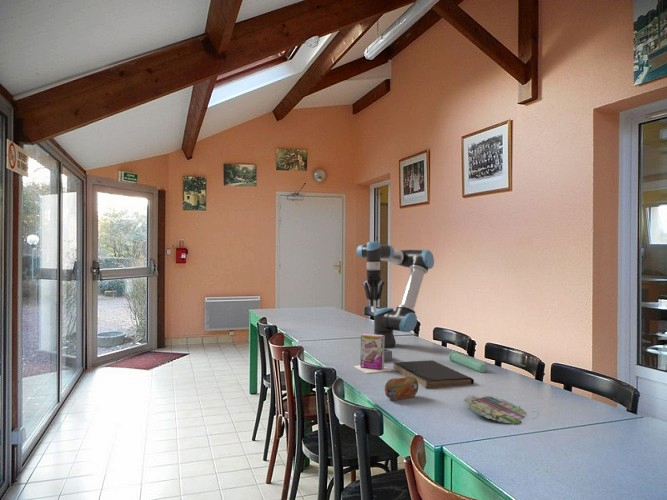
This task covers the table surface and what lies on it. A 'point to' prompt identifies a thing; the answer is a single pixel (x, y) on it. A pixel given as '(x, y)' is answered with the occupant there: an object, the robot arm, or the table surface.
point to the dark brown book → (432, 374)
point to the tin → (401, 388)
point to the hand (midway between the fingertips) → (373, 311)
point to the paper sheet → (368, 370)
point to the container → (467, 361)
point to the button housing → (387, 355)
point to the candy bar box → (372, 351)
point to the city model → (495, 408)
